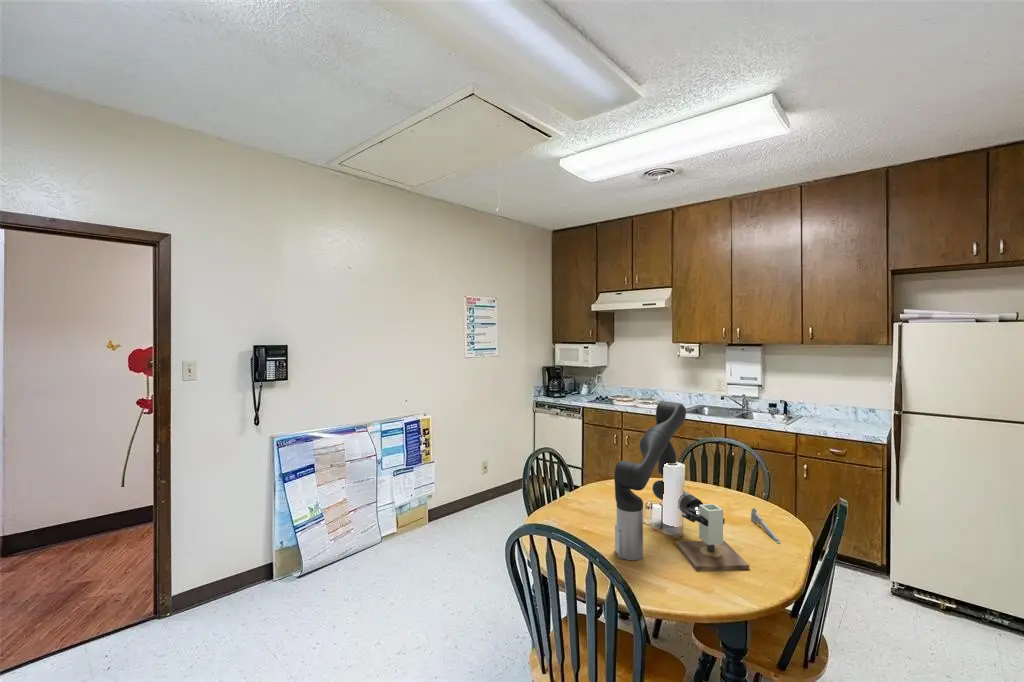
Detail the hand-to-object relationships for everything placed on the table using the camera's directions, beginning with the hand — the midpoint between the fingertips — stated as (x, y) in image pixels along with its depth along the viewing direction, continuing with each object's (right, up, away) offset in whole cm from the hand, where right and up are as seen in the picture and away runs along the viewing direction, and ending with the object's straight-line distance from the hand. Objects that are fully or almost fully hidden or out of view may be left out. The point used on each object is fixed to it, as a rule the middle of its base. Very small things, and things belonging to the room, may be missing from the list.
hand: (715, 522), depth 164 cm
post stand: (0, -13, +3) cm, 13 cm away
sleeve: (0, -7, +3) cm, 8 cm away
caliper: (+29, -13, +22) cm, 39 cm away
